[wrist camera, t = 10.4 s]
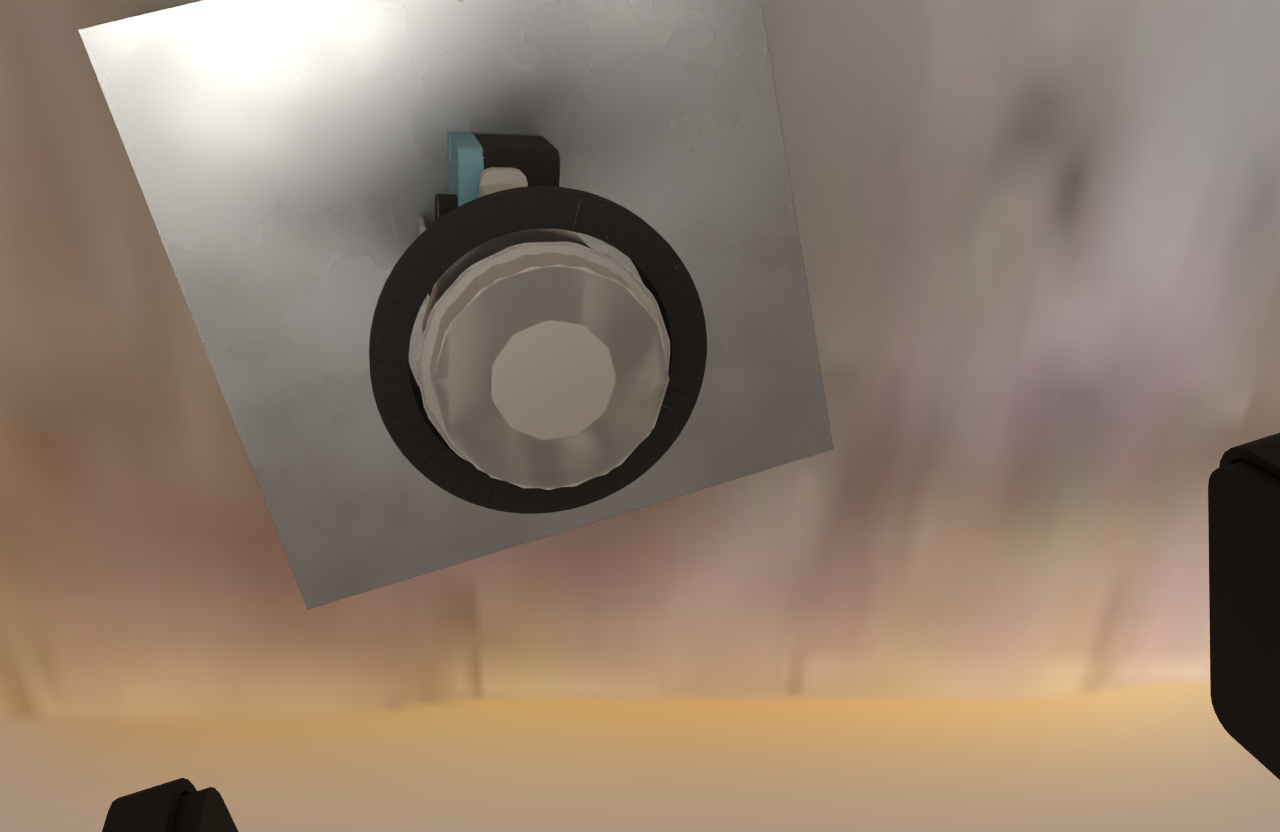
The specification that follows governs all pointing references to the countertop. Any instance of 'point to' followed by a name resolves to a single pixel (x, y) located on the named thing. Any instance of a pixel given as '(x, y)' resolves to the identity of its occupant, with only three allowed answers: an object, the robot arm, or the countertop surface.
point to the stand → (404, 191)
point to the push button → (534, 337)
